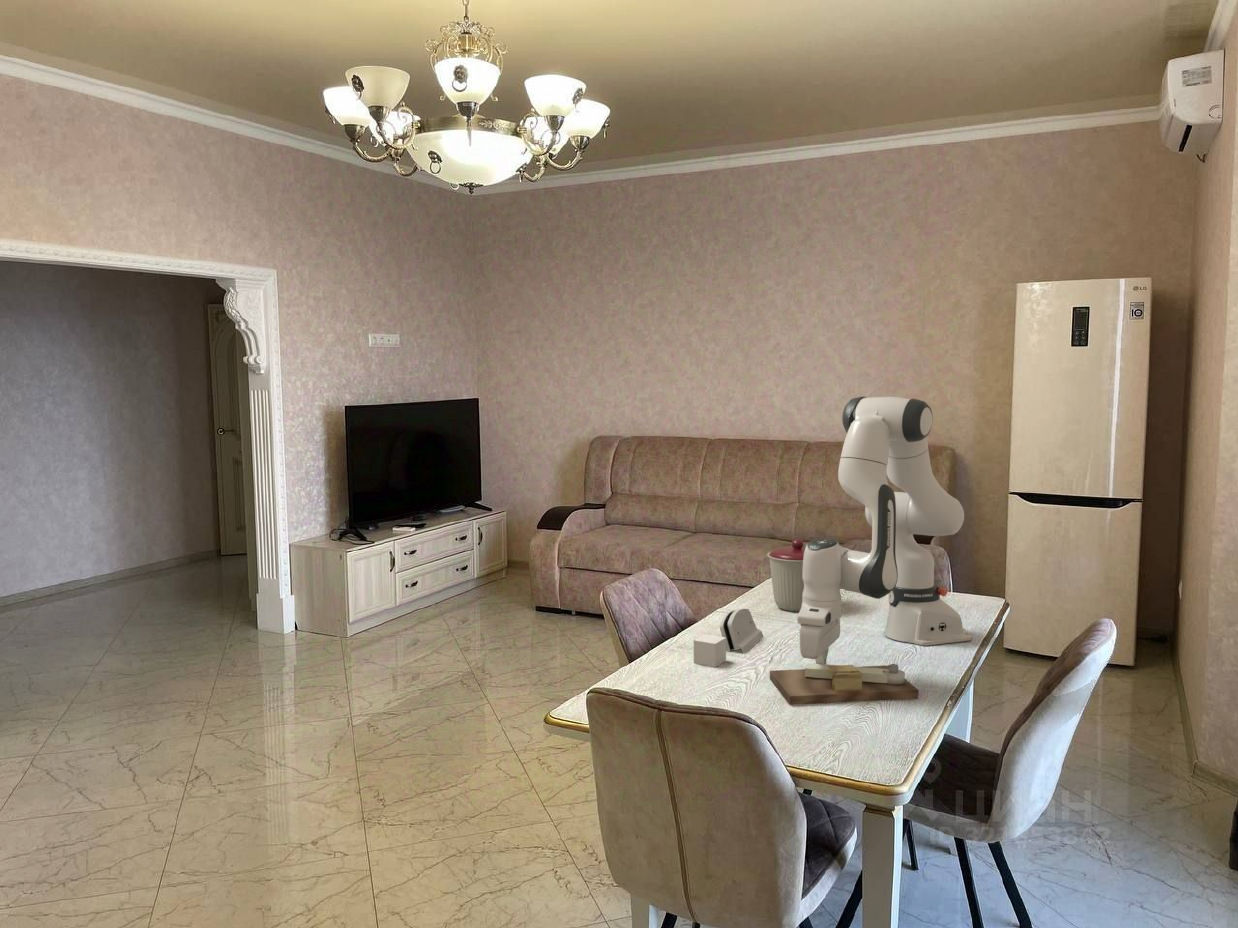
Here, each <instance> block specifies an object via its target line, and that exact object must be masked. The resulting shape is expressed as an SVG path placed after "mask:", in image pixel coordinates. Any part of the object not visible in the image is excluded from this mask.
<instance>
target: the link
mask: <svg viewBox="0 0 1238 928" xmlns="http://www.w3.org/2000/svg"><path fill="white" fill-rule="evenodd" d="M836 665H837V664H828V663H826V664H816V662H815V663H812V662H806V664H805V668H804V669H805V677H814V678H826V679H832V675H831V674H830V673H829V672H828V671H827V666H836ZM888 665H889V669H880V668H867V667H862V666H855V667H856V668H857V669H858V670H859V671H860V672H861V673H862V681H864V682H876V683H888V684H893V685H899V684H903V683H904V682H905V679H906V678H905V677H906V673H905V671H903V670H900V669H899V665H898V664H896V663H895V664H894V663H890V664H888Z"/></svg>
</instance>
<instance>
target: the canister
mask: <svg viewBox="0 0 1238 928" xmlns="http://www.w3.org/2000/svg"><path fill="white" fill-rule="evenodd" d="M805 548H806V546H804V542H803V540H802V539H799V538H798V539H796V538H795V539H793V540H792V541H791V545H787V546H780V547H776V548H774V549H772V550H771V551H769V552H767V554H766V556H767V557H768V558H769V566H770V568H769V569H770V576H771V586H772V593H773V599H774V603H775V604H776V606H777V607H778V608H780V609H782V610H785V611H789V612H798V613H799V612H800V609H801V607H802V594H803V591H804V581H803V557H804V552H805Z"/></svg>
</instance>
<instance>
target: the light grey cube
mask: <svg viewBox="0 0 1238 928" xmlns="http://www.w3.org/2000/svg"><path fill="white" fill-rule="evenodd" d="M726 661H727V652H726V638H725V637H722V636H719V635H718V636H717V635H711V634H707V633H705V634H702V635H701V636H699V637H697V638H694V640H693V664H696V665H702V666H707V667H712V668H716V667H718V666H719V665H721V664H723V663H725V662H726Z"/></svg>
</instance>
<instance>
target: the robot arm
mask: <svg viewBox="0 0 1238 928" xmlns="http://www.w3.org/2000/svg"><path fill="white" fill-rule="evenodd" d="M841 418H842V419H841V420H842V426H843V428H844V430H845V432H846V435H845V438H844V442H843V446H842V450H841V454H840V459H839V463H838V471H837V473H838V474H837V478H838V482H839V485H840V486H841V488H842V490H844V492H845V493H846V494H847V495H848V496H850V497H851V498H852V499H854V500H856V501H858V502H859V503H861V504H862V505H863V506H865V509H864V516H865V518H866V519H865V520H866V521H867V523H868V524H869V526H870V527H871V528H872V529H871V550H870V552H866V551H860V550H854V549H848V547H847V548H846V547H844V546H841V545H840V544H839V541H838V540H836V539H833V538H828V537H823V538H815V539H812V540H810V541H809V542H807V544H806V548H805V552H804V557H803V581H804V591H803V594H802V607H801V609H800V612H798V614H797V617H796V619H797V624H800V625H799V632H798V633H799V650H800V651H799V652H800V655H801V657H802V658H803V659H809V660H815V664H828V663H827V658H828V653H829V648H830V647H831V645H833V644H834V643H835V642H836V641H837V640H838V639H839V638H840V635H841V617H842V594H841V590H844V591H848V592H852V593H855V594H856V593H858V594H861V595H864V596H867V597H869V598H873V599H876V600H877V599H878V600H879V599H882V598H884V597H885V596H887V595H888V604H889V609H888V615H887V621H886V625H885V629H884V630H883V634H884V636H885V637H887V638H889V639H891V640H894V641H898V642H903V643H911V644H915V645H918V646H933V645H934V646H935V645H936V646H937V645H942V644H950V643H951V644H952V643H960V642H969V641H972V639H973V637H972V633H970V631H968V630H967V629H966V628H964V627H963V626H964V625H963V621H962V617H961V615H960V614H959V612H958V611H956V610H955V609H954V608H953V607H952V606H950V605H949V604H948V603H946V602H945V600H942V598H941V597H946V596H947V595H948V593H949V592H948V590H947V589H946V588H944V587H939V586H937V585H935V559H934V556H933V555H932V554H931V552H929V550H927V549H926V548H924V547H922V546H921V545H919V543H917V541H916V540H915V538H914V535H918V536H920V535H921V536H931V537H932V536H933V537H942V536H952V535H955V534H957V533H958V532H959V531H960V529H961V528H962V526H963V524H964V521H965V512H964V508H963V505H962V504H961V502H960V500H958V499H957V498H955V497H954V496H952V495H951V494H949V493H948V492H947V491H946V490H945V489H944V488H943V487H942V486H941V485H940V483H939V482H938V481H937V479H936V477H935V475H934V473H933V469H932V465H931V458H930V453H929V443H928V436H929V434H930V432H931V430H932V425H933V410H932V408H931V407H930V405H928V402H926V401H924V400H920V399H917V398H906V397H899V396H898V397H897V396H889V395H888V396H870V397H869V396H857V397H854V398H851V399H850V400H849V401H848V402H847V403H846V404H845V406H844V408H843V412H842V417H841ZM888 480H889V481H890V482H891V484H893V485H894V486H895V487H897V488H899V489H901V490H902V491H903V492H902V491H894V489H893V488H892V487H890V485H889V481H888Z"/></svg>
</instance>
